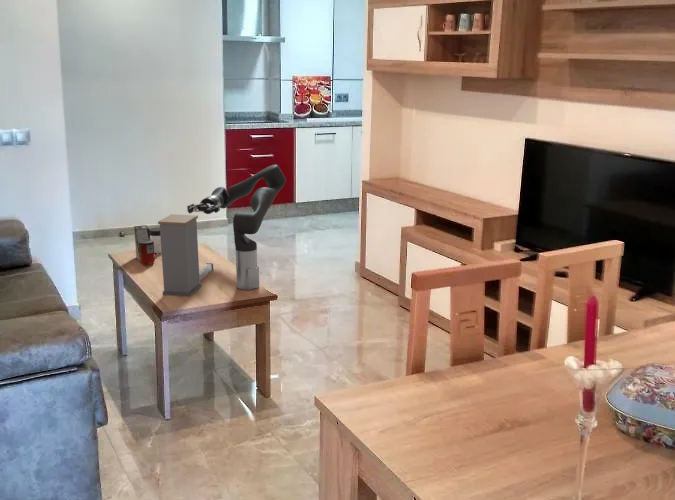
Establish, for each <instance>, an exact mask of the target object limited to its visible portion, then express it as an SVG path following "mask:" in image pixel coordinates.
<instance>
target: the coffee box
mask: <svg viewBox="0 0 675 500" xmlns="http://www.w3.org/2000/svg"><path fill="white" fill-rule="evenodd" d="M150 229H151V228H149V226H147V225H145V224H144V225H143V224H141V225H136V226H135V225H134V226H133V231H134V242H135V243H134V244H135V254H136V255H135V256H136V259H137V260H138V261H139V262H140V254H139V241H140V240H142V239H150Z"/></svg>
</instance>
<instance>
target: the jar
mask: <svg viewBox="0 0 675 500" xmlns="http://www.w3.org/2000/svg"><path fill="white" fill-rule="evenodd" d="M149 229H150V239H151V240H153V241H154V253H162V251H161V236H160V226H159V227H151V228H149Z"/></svg>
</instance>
